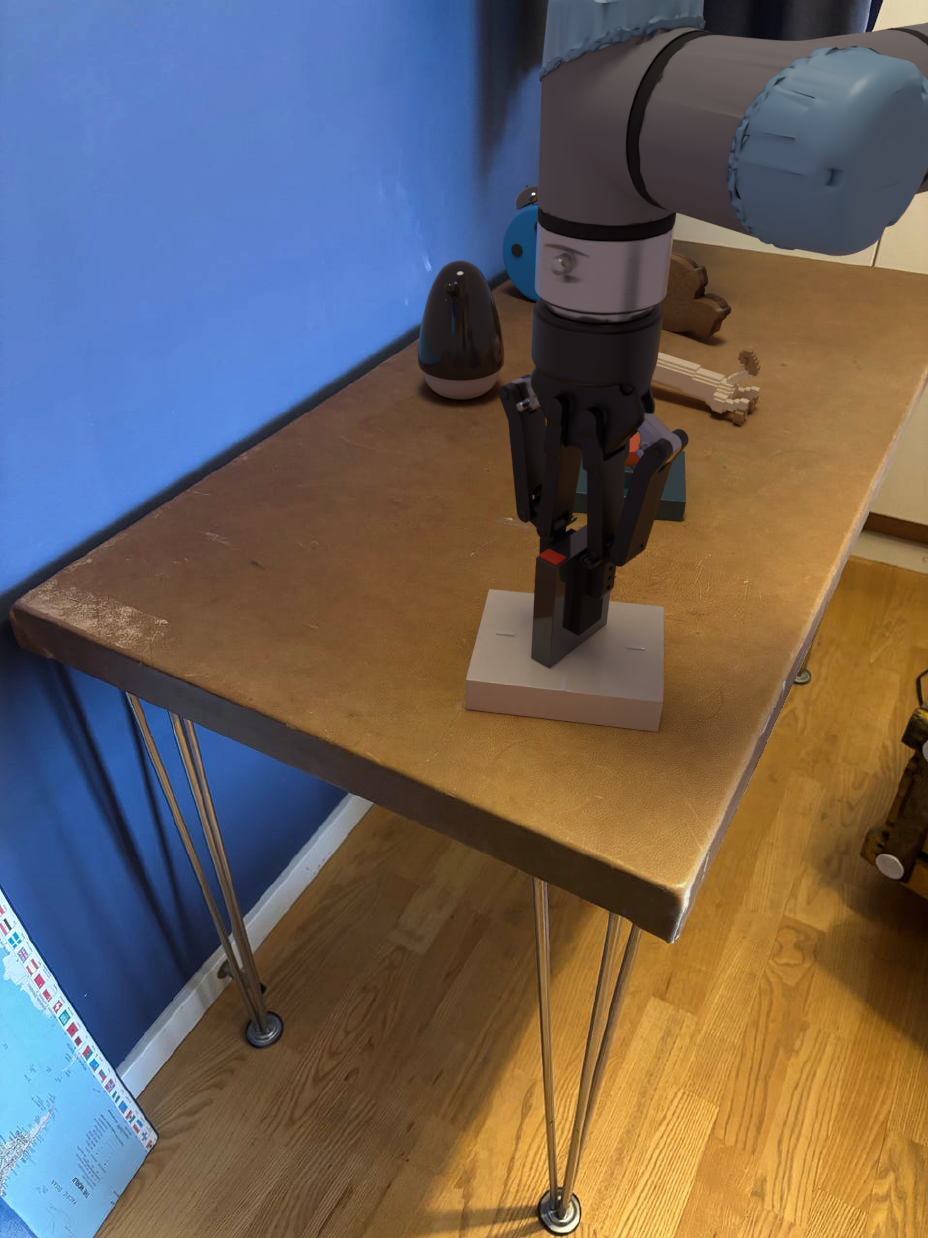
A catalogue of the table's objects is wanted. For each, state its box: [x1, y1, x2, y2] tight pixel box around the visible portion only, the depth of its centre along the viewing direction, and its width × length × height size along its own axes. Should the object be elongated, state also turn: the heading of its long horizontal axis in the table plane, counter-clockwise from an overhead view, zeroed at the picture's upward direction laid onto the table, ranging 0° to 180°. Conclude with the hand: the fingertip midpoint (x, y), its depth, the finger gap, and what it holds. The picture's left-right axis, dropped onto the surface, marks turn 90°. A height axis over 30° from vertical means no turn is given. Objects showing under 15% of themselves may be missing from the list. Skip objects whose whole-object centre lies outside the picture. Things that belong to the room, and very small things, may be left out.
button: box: [625, 433, 640, 466], centre depth 89 cm, size 4×4×2 cm
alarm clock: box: [502, 184, 540, 303], centre depth 129 cm, size 13×6×15 cm, turn 53°
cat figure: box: [651, 347, 761, 426], centre depth 106 cm, size 10×9×25 cm
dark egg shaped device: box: [417, 259, 505, 401], centre depth 105 cm, size 10×10×15 cm
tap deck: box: [465, 588, 665, 733], centre depth 70 cm, size 14×11×3 cm
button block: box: [573, 450, 687, 522], centre depth 90 cm, size 12×10×4 cm
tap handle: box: [531, 524, 611, 668], centre depth 66 cm, size 7×2×9 cm, turn 137°
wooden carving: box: [659, 251, 732, 339], centre depth 121 cm, size 16×5×10 cm, turn 44°
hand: (572, 617), depth 67 cm, fingers closed on tap handle, 2 cm apart
